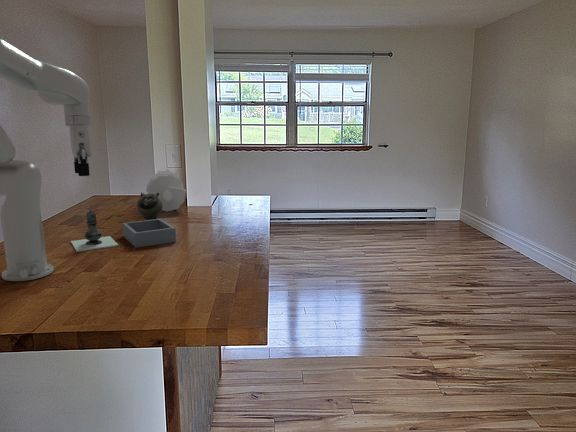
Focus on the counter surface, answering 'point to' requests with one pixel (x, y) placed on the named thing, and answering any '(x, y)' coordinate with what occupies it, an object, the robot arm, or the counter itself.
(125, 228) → the crate
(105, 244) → the mat
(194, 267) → the counter surface
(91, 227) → the stone chess piece
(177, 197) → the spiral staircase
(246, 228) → the counter surface
